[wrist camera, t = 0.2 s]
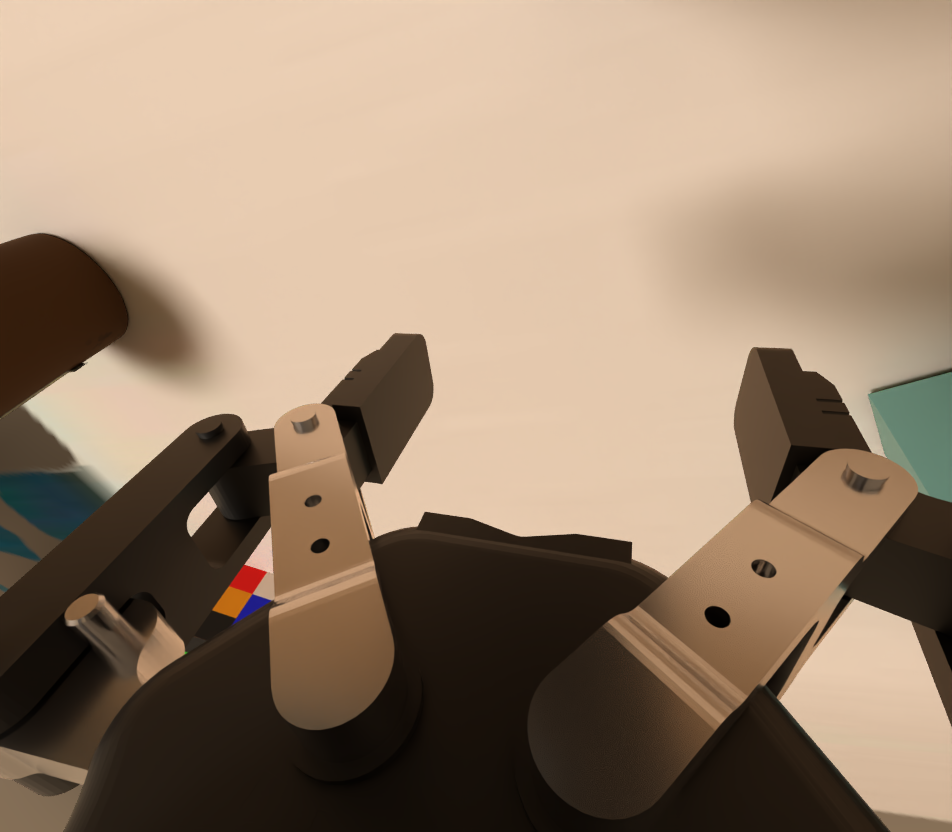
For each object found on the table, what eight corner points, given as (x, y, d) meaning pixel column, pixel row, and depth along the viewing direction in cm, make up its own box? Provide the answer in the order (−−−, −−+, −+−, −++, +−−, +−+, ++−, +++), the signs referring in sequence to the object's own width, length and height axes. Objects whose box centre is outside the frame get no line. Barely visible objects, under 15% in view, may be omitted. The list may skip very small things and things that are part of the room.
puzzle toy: (290, 579, 64) (244, 653, 56) (298, 614, 70) (258, 685, 63) (221, 556, 65) (167, 627, 57) (236, 594, 72) (189, 661, 64)
